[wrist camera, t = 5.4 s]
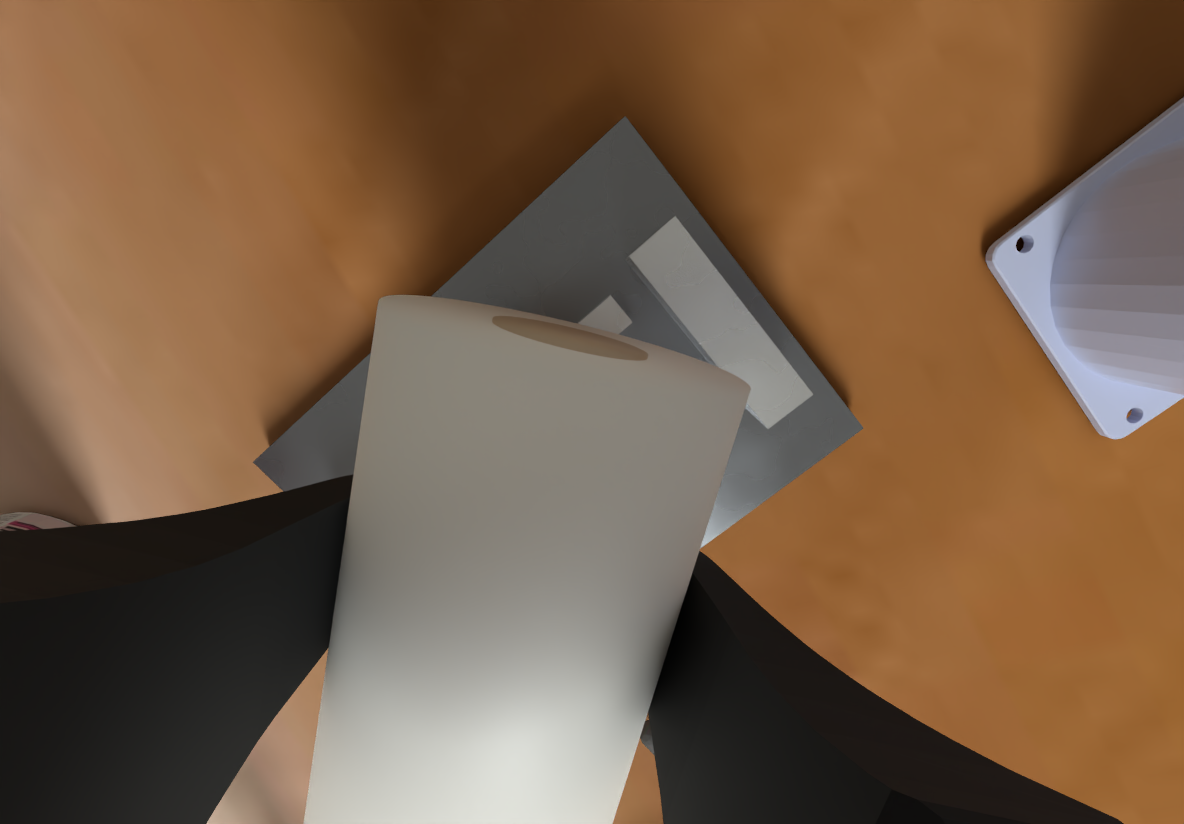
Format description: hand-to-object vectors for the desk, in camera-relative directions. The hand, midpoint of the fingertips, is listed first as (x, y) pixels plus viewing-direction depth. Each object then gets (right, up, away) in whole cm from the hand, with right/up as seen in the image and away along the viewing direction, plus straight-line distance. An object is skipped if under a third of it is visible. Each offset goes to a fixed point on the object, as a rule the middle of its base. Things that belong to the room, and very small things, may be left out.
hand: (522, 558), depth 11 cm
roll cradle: (0, +2, +8) cm, 8 cm away
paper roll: (0, 0, +1) cm, 2 cm away
